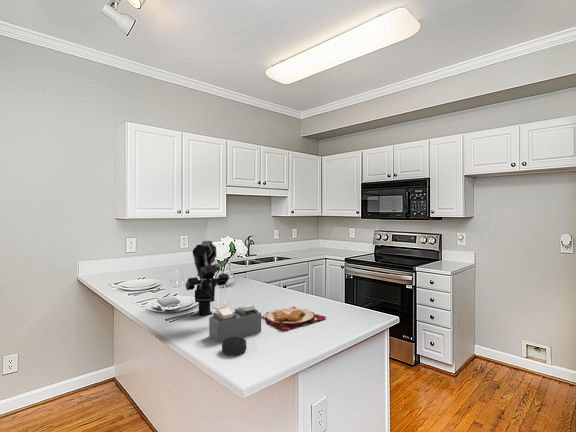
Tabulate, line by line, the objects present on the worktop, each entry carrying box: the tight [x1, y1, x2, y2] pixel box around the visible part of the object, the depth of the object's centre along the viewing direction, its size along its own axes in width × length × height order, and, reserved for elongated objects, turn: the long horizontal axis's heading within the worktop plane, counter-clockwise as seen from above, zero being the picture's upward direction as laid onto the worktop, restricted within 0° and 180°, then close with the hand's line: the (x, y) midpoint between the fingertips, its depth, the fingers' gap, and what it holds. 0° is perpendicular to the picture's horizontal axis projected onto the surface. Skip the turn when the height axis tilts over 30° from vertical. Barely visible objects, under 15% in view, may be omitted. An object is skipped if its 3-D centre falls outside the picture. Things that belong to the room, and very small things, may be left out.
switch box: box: [208, 308, 262, 343], centre depth 146 cm, size 8×20×9 cm, turn 126°
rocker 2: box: [237, 305, 256, 311], centre depth 148 cm, size 6×4×2 cm
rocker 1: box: [215, 305, 233, 319], centre depth 142 cm, size 6×4×2 cm
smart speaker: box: [221, 337, 247, 356], centre depth 129 cm, size 9×9×4 cm
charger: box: [156, 296, 181, 308], centre depth 180 cm, size 5×9×15 cm
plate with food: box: [261, 306, 327, 331], centre depth 166 cm, size 25×26×4 cm
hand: (213, 297), depth 151 cm, fingers closed
